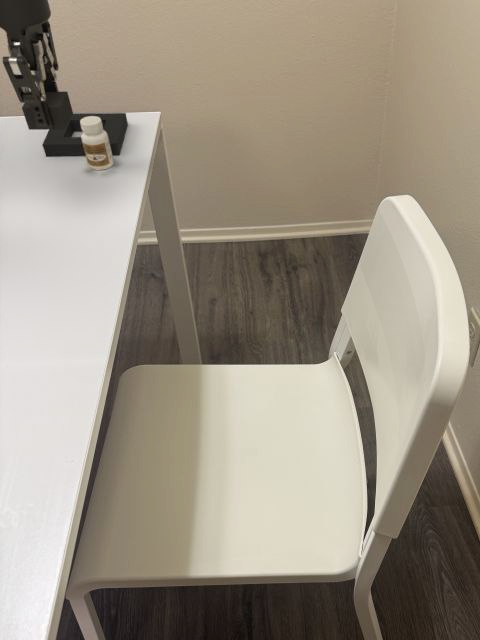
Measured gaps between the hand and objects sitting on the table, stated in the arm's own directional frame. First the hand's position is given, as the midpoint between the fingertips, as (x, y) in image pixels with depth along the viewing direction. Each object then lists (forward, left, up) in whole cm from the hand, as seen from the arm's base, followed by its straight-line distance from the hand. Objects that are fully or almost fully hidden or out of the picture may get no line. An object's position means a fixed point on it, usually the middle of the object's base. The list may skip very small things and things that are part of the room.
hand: (50, 118), depth 85 cm
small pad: (0, 0, 0) cm, 0 cm away
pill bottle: (+1, +16, -16) cm, 22 cm away
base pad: (-3, +25, -15) cm, 30 cm away
